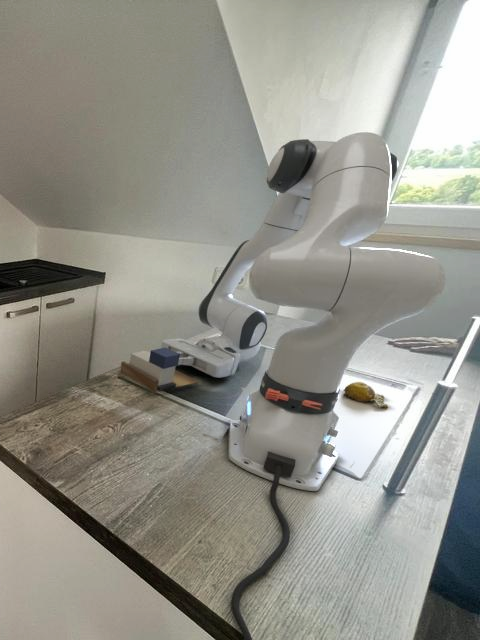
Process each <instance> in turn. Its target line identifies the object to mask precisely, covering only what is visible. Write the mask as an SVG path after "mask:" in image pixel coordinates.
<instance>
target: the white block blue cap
mask: <svg viewBox="0 0 480 640" xmlns="http://www.w3.org/2000/svg"><path fill="white" fill-rule="evenodd" d="M179 357H180V354H179V353H177V352H174V351H172V350H170V349H167V348H161V347H160V348H156V349H151V350H150V352H149V351H147V350H141V351H135V352H131V353H130V359H129V364H130V365H132V366H133V367H135V368H137V369H139V370H141V371H142V372H144V373H146V374H148V375H149V376H151V377H153V378H155V379H156V380H158V386H157V390H158V391H157V392H163V391H166V390H170V389H174V388H177V387H176V383H174V382H172V381H173V376H174V371H175V370H176V367H177V366H179V365H178V362H179Z"/></svg>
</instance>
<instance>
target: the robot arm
mask: <svg viewBox="0 0 480 640" xmlns="http://www.w3.org/2000/svg"><path fill="white" fill-rule="evenodd" d="M398 168H399V161H398V157H397V155H396V154H394V153H392V152H391V151H390V150H389V147H388V143H387V141H386V140H385V138H383V137H382V136H381V135H379V134H377V133H375V132H368V131H363V132H356V133H355V132H354V133H351V134H348V135H346V136H344V137H341V138H340V139H338V140H337V141H331V140H309V139H308V138H304V139H303V138H302V139H294V140H290V141H287V143H285V144H284V145H282V146H281V147H280V148H279V149H278V151H277V152H276V153H275V154H274V156H273V157H272V159H271V161H270V163H269V165H268V169H267V175H266V183H267V186H268V188H269V189H270V190H272V191H274V192H277V193H278V194H277V196H276V198H274V201H273V202H272V204H271V206H270V207H269V209H268V212H267V213H266V215H265V218H264V219H263V221H262V224H261V225H260V227H259V229H258V230H257V232H255V234H254V235H253V236H252V237H251V238H250V239H247V240H245V241H243V242H241V244H240V245H238V247H237V248H236V250H235V251H234V253H233V254H232V256H231V257H230V259H229V260H228V262H227V264H226V265H225V267H224V268H223V270H222V272H221V274H220V275H219V276H218V278H217V280H216V282H215V283H214V285H213V287H212V288H211V289H210V291H209V292H208V293H207V294H206V296H205V297H204V298H202V299H203V300H201V302H200V304H199V306H198V317H199V321H200V322H201V323H202V324H204V325H206V326H209V327H211V328H213V329H215V330H218V331H220V332H221V334H220V335H218V336H210V337H204V338H201V339H199V340H198V341H197V342H196V343H194V342H192V341H190V340H187V339H184V338H168V339H167V338H166V339H163V340H162V342H161V345H160V349H161V348H167V349H170V350H172V351H174V352H177V353H179V354H180V357H179V362H178V366H181V365H182V366H188V367H189V366H190V367H192V368H194V369H196V370H199V371H201V372H202V373H204V374H207V375H209V376H211V377H213V378H217V379H218V378H219V379H220V378H225V377H229V376H235V374H236V371H237V369H238V365H239V364H240V363H243V362H246V361H248V360H250V359H252V358H253V357H255V356H256V355H257V354H258V353H259V351H260V349H261V341H262V340H263V339H264V337H265V335H266V332H267V330H268V317H267V315H266V313H265V312H264V311H263V310H261V309H259V308H256V307H254V306H252V305H250V304H247V303H244V302H243V301H241V300H238V299H236V298H234V296H233V292H234V291H235V290H236V288H237V287H238V285H239V284H240V282H241V281H242V278H243V277H244V276H245V274H246V273H247V271H248V270H249V269H250V270H249V273H248V285H249V289H250V291H251V293H252V294H253V296H254V297H255V298H256V299H258V300H261V301H264V302H267V303H271V304H274V305H277V306H280V307H281V306H282V307H287V308H295V309H296V308H297V309H305V310H314V311H321V312H327V313H326V314H325V315H324V316H322V318H321V319H319V320H318V321H316V322H313V323H311V324H307V325H304V326H298V327H295V328H293V329H290V330H288V331H286V332H285V333H283V334H282V335H281V336H279V338H278V339H277V341H276V344H275V346H274V351H273V353H272V356H271V360H270V362H269V366H268V369H267V370H265V372H264V373H263V375H262V377H261V381H260V385H259V389H258V390H256V391H253V392H250V393H249V395H248V396H247V398H246V399H247V400H246V404H245V407H244V410H243V413H242V414H241V415H240V416H239V419H231V420H230V422H229V423H230V425H229V426H228V429H227V432H228V435H227V436H228V437H227V438H228V439H227V441H228V459H229V460H230V461H231V462H232V463H233V464H234V465H236V466H238V467H239V468H240V469H241V468H242V469H243V470H245V471H247V472H250V473H251V474H252V475H253V474H254V475H256V476H258V477H261V478H263V479H266V480H268V481H271V482H272V483H271V487H270V490H269V500H270V504H271V507H272V509H273V511H274V513H275V515H276V517H277V518H278V520H279V522H280V523H281V526H282V536H281V540H280V542H279V544H278V546H277V547H276V548H275V549H274V551H273V552H271V554H270V555H269V556H268V557H267V558H266V560H265V561H264V562H263V563H262V565H261V566H260V567H258V569H256V570H255V571H253V572H251V573H249V575H247V576H246V577H244V578H243V579H242V580H241V581H240V582H239V583H238V584H237V585H236V586H235V588H234V590H233V593H232V595H231V600H230V603H231V605H230V606H231V610H232V614H233V616H234V619H235V621H236V623H237V626H238V627H239V630H240V632H241V634H242V637H243V640H253V637H252V635H251V632H250V630H249V628H248V626H247V624H246V621H245V620H244V617H243V616H242V613H241V610H240V600H241V596H242V594H243V592H244V591H245V589H247V587H248V586H250V585H251V584H252V583H254V582H255V581H257V580H259V578H261V577H263V575H265V574H266V573H267V572H268V571H269V570H270V568H271V567H272V566H273V565H274V563H275V562H276V561H277V560H278V559H279V558H280V557H281V555H282V554H284V552H285V550H286V549H287V547H288V546H289V545H288V544H289V542H290V535H291V530H290V526H289V522H288V521H287V519H286V517H285V515H284V514H283V513H282V511H281V509H280V507H279V505H278V503H277V490H278V487H279V485H282V486H283V485H284V486H286V487H290V488H293V489H297V490H301V491H307V492H317V491H319V490H320V488H321V487H322V486H323V484H324V482H325V481H326V479H327V478H328V476H329V474H330V473H331V472H332V470H333V468H334V467H335V465H336V464H337V463H338V460H339V456H340V454H339V452H337V451H336V450H335V449H336V447H337V445H335V444H334V443H331V439H332V438H336V437H337V436H338V433H339V430H338V429H336V427H337V424H338V422H339V419H340V417H339V416H338V414H337V413H336V412H335V411H334V408H335V405H336V403H337V402H338V400H339V397H340V395H339V394H340V391H341V389H340V387H339V386H340V384H341V382H342V379H343V377H344V375H345V374H346V373H345V372H346V371H347V368H348V367H349V365H350V363H351V361H352V359H353V357H354V355H355V354H356V352H357V351H358V350H359V349H360V348H361V347H362V345H363V344H364V343H366V342H367V341H368V340H369V339H370V338H371V337H373V336H374V335H375V334H377V333H379V332H380V331H381V330H384V329H385V328H386V327H388V326H390V325H392V324H395V323H397V322H399V321H402V320H405V319H407V318H411V317H414V316H418V315H419V314H420V313H423V312H424V311H426V310H427V309H429V308H430V307H431V306H433V304H434V303H436V302H437V300H438V299H439V298H440V296H441V295H442V293H443V290H444V289H445V285H446V273H445V270H444V267H443V265H442V264H441V262H440V261H439V260H438V259H437V258H436V257H434V256H429V255H425V254H422V253H417V252H414V251H413V252H412V251H407V250H402V249H396V248H395V249H393V248H376V247H360V246H359V247H358V246H354V247H353V246H350V245H353V244H356V243H358V242H361V241H363V240H365V239H367V238H369V237H370V236H371V235H373V234H374V233H376V232H377V231H378V230H379V229H380V228H381V227H382V226H383V225H384V223H385V221H386V220H387V217H388V214H389V206H390V205H389V203H390V194H391V185H392V182H393V181H394V179H395V177H396V175H397V172H398Z"/></svg>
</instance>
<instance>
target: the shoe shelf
mask: <svg viewBox="0 0 480 640" xmlns="http://www.w3.org/2000/svg"><path fill="white" fill-rule="evenodd" d="M119 369H120V370H119V371H120V373H122V374H123V375H125V376H126V377H128V378H129V379H131V380H133V381H135V382H136V383H137V384H139V385H141V386H142V387H144V388H146V389H147V390H149V391H150V392H152V393H156V392H159V391H158V390H157V386H158V380H156V379H155V378H153V377H151V376H149V375H148V374H146V373H144V372H142V371H141V370H139V369H137V368H135V367H133V366H132V365H130V363H128V362H126V361H121V364H120V368H119ZM172 382H174V383H176V387H175V388H178V387H183V386H186V385H191V384H196V383H199V382H200V381H198V380H197V379H195V378H192V377H191V376H189V375H187V374H185V373H184V372H181V371H179V370H177V369H175V371H174V376H173V381H172Z"/></svg>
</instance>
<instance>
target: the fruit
mask: <svg viewBox="0 0 480 640" xmlns="http://www.w3.org/2000/svg"><path fill="white" fill-rule="evenodd" d="M343 392H345V394H346V396H348V397H349V398H351V399H352V400H355V401H356V402H363V403H364V402H368V401H375V405H376V406H377V407H378V408H380V407H381V408H389V406H388V404H386V403H384V402H385V401H384V400H385V396H384V395H383V394H377V393H376V392H375V390H374V389H373V388H372V386H370V385H368V384H367V383H365V382H362V381H356V382H352V383H350V384H348V385H347V386H345V388H344V389H343ZM348 397H347V398H348Z"/></svg>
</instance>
